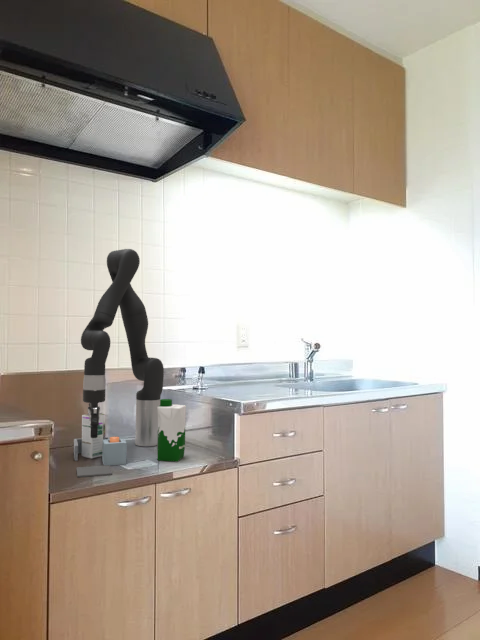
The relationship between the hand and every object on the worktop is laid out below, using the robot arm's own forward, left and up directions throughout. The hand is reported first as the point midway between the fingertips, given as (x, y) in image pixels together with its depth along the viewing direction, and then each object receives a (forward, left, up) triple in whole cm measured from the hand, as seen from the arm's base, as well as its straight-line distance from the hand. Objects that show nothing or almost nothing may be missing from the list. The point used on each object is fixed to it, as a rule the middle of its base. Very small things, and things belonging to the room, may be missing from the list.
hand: (93, 435), depth 180 cm
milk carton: (-25, +11, -7) cm, 28 cm away
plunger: (-6, +11, -5) cm, 13 cm away
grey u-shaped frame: (0, 0, -7) cm, 7 cm away
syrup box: (0, 0, -7) cm, 7 cm away
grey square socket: (-6, +11, -7) cm, 14 cm away
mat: (+1, +21, -7) cm, 22 cm away
